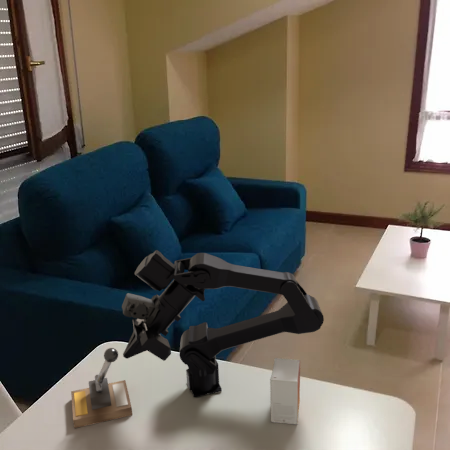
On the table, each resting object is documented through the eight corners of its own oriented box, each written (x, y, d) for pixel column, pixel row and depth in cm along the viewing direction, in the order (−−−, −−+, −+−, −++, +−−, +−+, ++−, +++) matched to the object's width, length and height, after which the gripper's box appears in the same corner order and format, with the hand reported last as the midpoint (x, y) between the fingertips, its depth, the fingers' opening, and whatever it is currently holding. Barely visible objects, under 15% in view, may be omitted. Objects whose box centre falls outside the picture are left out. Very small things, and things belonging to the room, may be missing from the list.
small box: (297, 425, 110) (298, 382, 106) (270, 422, 111) (269, 379, 107) (300, 400, 117) (301, 359, 114) (274, 398, 118) (274, 356, 115)
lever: (102, 380, 118) (119, 344, 117) (105, 394, 114) (121, 357, 112) (89, 377, 117) (105, 341, 116) (91, 391, 113) (108, 353, 111)
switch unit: (126, 387, 124) (123, 368, 122) (132, 414, 115) (130, 395, 113) (72, 398, 120) (69, 380, 119) (74, 428, 111) (71, 408, 110)
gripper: (136, 265, 120) (91, 317, 121) (150, 302, 103) (97, 363, 104) (173, 291, 124) (130, 341, 125) (192, 331, 108) (142, 389, 108)
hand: (124, 356), depth 116 cm, fingers closed
